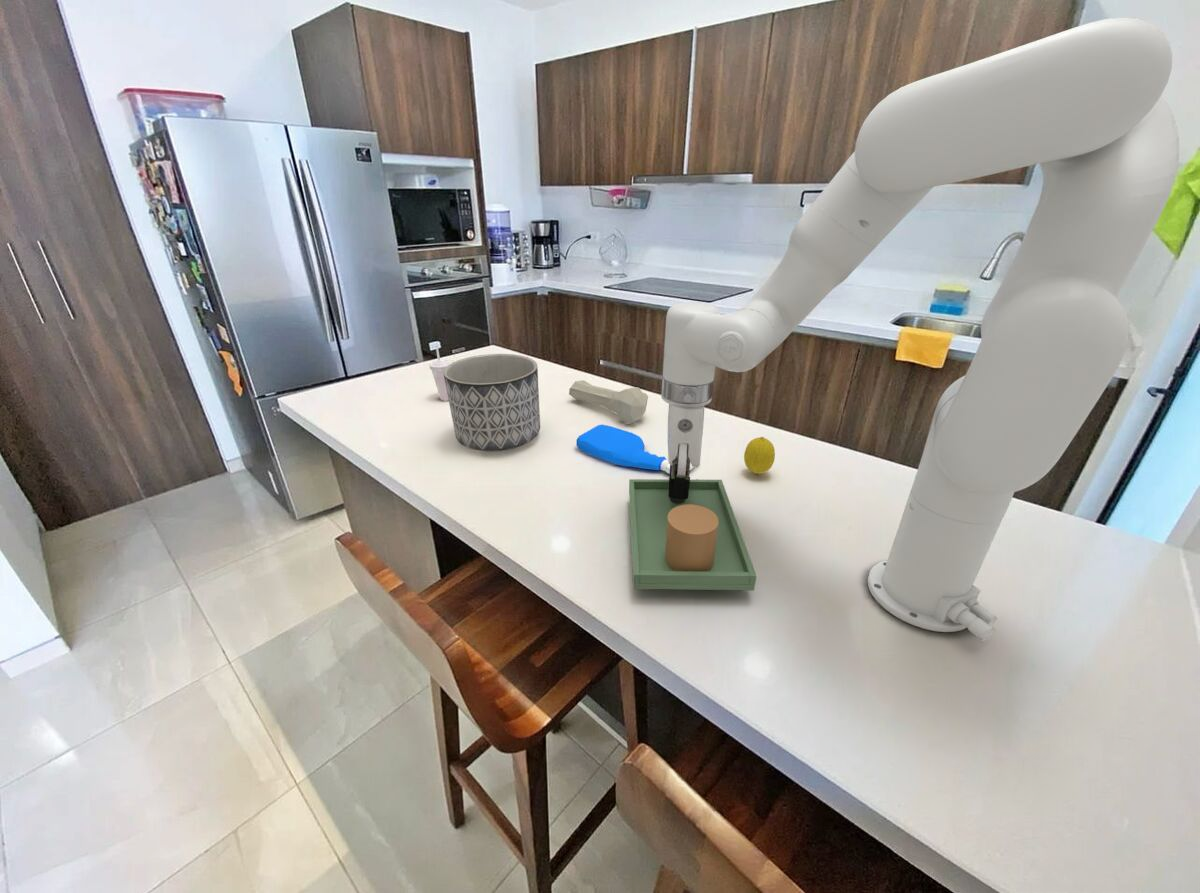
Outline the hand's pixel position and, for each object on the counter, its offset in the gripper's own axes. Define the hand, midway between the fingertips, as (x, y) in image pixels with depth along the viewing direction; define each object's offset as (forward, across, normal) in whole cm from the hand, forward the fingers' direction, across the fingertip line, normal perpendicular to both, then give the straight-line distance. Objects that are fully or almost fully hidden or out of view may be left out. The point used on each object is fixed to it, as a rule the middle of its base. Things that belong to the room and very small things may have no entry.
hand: (678, 490), depth 83 cm
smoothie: (+6, +45, +61) cm, 76 cm away
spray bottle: (+5, +19, +9) cm, 21 cm away
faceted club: (+5, +42, +18) cm, 46 cm away
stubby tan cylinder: (+2, -15, -2) cm, 15 cm away
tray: (+3, -8, -1) cm, 8 cm away
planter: (+5, +24, +39) cm, 47 cm away
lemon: (+5, +15, -15) cm, 22 cm away
